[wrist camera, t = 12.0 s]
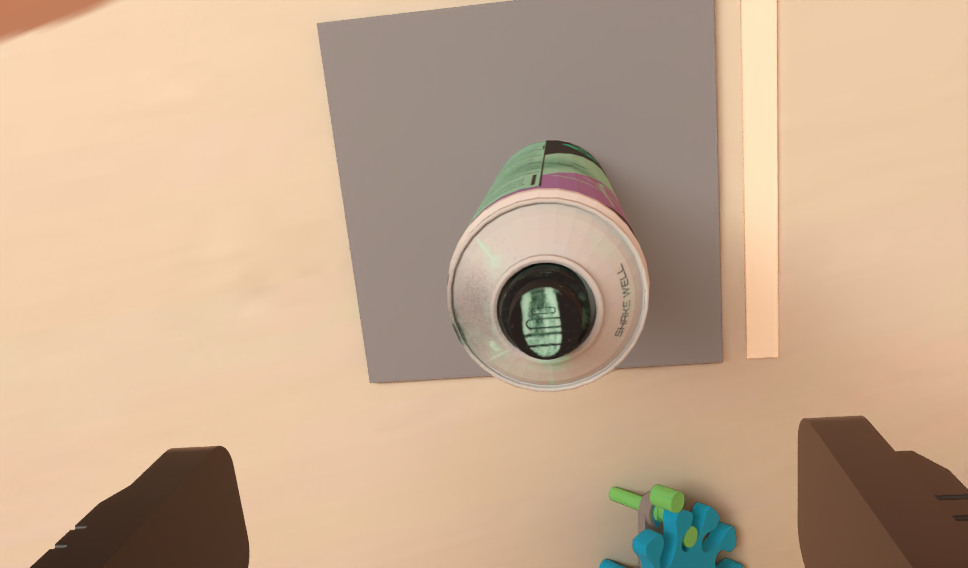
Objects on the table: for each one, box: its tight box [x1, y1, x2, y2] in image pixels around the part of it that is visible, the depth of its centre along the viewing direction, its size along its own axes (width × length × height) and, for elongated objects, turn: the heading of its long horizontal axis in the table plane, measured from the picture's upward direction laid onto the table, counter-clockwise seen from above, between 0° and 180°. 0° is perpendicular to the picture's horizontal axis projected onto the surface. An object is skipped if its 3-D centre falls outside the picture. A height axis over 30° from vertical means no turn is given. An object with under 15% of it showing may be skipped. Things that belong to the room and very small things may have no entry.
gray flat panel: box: [317, 0, 778, 383], centre depth 37 cm, size 21×18×1 cm
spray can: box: [447, 140, 650, 392], centre depth 28 cm, size 6×6×20 cm
